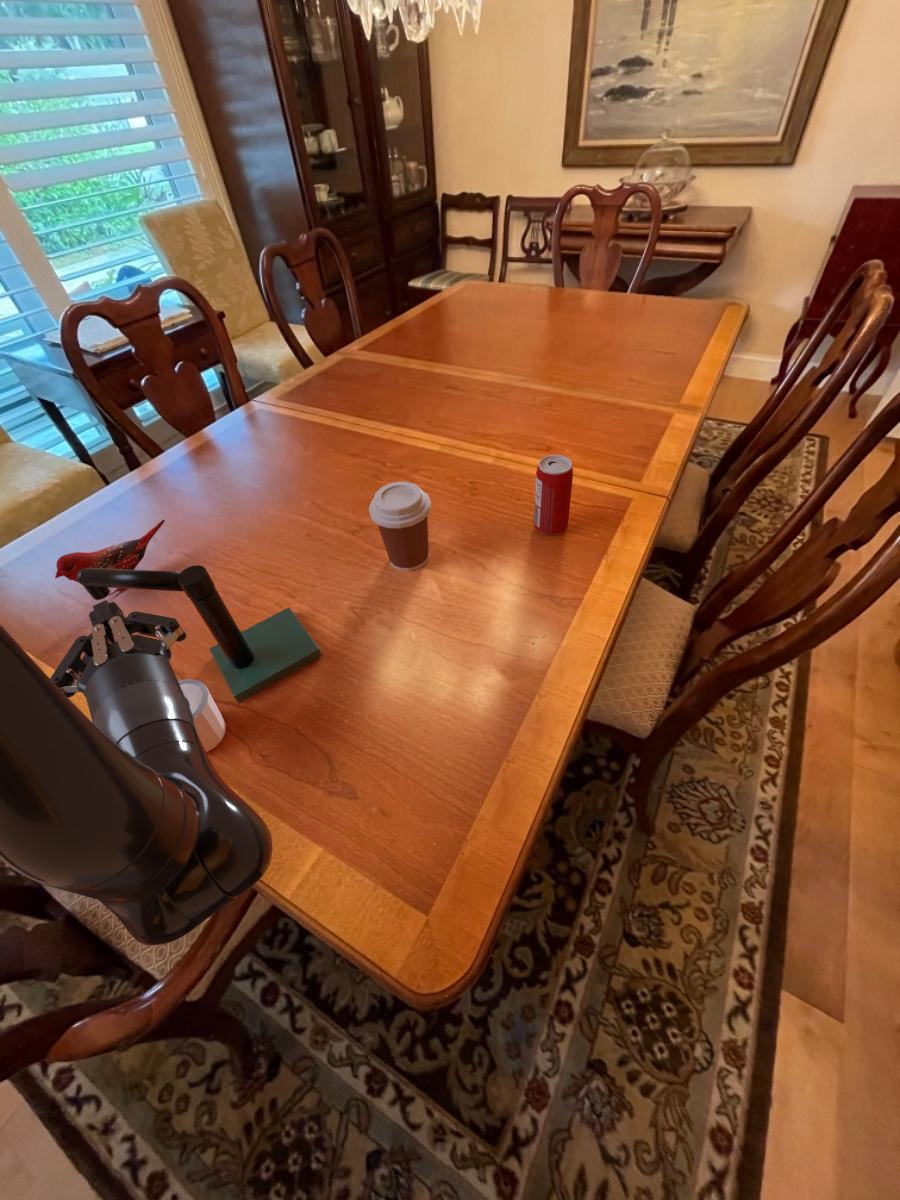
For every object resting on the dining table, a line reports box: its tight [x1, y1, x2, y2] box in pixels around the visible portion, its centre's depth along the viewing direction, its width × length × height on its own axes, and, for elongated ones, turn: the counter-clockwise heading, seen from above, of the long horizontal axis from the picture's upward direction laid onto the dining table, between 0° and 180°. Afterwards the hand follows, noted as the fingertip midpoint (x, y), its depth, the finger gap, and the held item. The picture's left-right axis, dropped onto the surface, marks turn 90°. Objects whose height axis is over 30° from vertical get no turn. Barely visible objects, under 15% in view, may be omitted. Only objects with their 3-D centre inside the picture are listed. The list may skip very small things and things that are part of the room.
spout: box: [77, 564, 216, 601], centre depth 62 cm, size 17×3×4 cm, turn 82°
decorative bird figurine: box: [54, 519, 166, 597], centre depth 83 cm, size 3×18×10 cm, turn 146°
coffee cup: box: [368, 481, 432, 572], centre depth 81 cm, size 9×9×12 cm
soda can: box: [533, 454, 574, 536], centre depth 83 cm, size 6×6×12 cm
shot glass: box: [178, 678, 227, 753], centre depth 63 cm, size 7×7×7 cm
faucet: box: [189, 586, 323, 704], centre depth 68 cm, size 12×10×15 cm
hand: (103, 608), depth 59 cm, fingers closed
